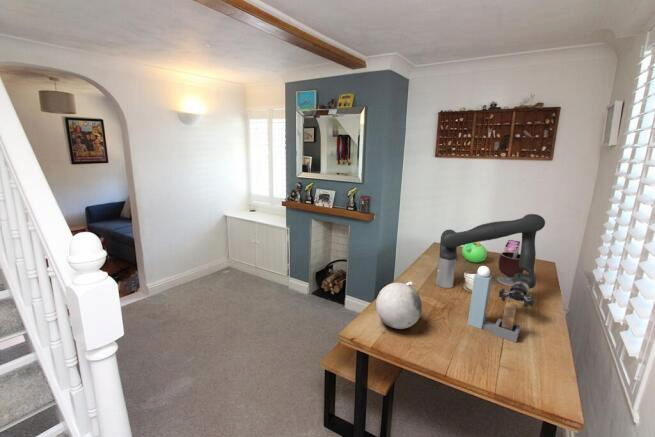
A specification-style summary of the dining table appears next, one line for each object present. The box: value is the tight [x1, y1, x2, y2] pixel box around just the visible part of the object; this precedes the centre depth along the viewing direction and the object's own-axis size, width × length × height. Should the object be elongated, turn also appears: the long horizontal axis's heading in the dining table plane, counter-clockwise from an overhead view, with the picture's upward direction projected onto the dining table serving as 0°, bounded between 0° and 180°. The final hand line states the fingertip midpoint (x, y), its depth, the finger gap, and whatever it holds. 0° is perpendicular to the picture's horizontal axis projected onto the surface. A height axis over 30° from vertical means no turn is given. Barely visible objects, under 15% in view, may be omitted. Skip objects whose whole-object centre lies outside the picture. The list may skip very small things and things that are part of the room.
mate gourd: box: [497, 247, 525, 287], centre depth 194 cm, size 16×14×20 cm
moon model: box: [375, 282, 423, 330], centre depth 143 cm, size 20×20×20 cm
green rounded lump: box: [461, 241, 488, 263], centre depth 227 cm, size 18×17×15 cm
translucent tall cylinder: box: [501, 301, 518, 331], centre depth 139 cm, size 4×4×14 cm
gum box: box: [503, 239, 521, 253], centre depth 228 cm, size 24×8×14 cm, turn 145°
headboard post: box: [467, 265, 521, 343], centre depth 140 cm, size 20×9×28 cm, turn 52°
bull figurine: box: [406, 281, 415, 288], centre depth 170 cm, size 4×13×8 cm, turn 137°
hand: (513, 302), depth 146 cm, fingers open, 8 cm apart
